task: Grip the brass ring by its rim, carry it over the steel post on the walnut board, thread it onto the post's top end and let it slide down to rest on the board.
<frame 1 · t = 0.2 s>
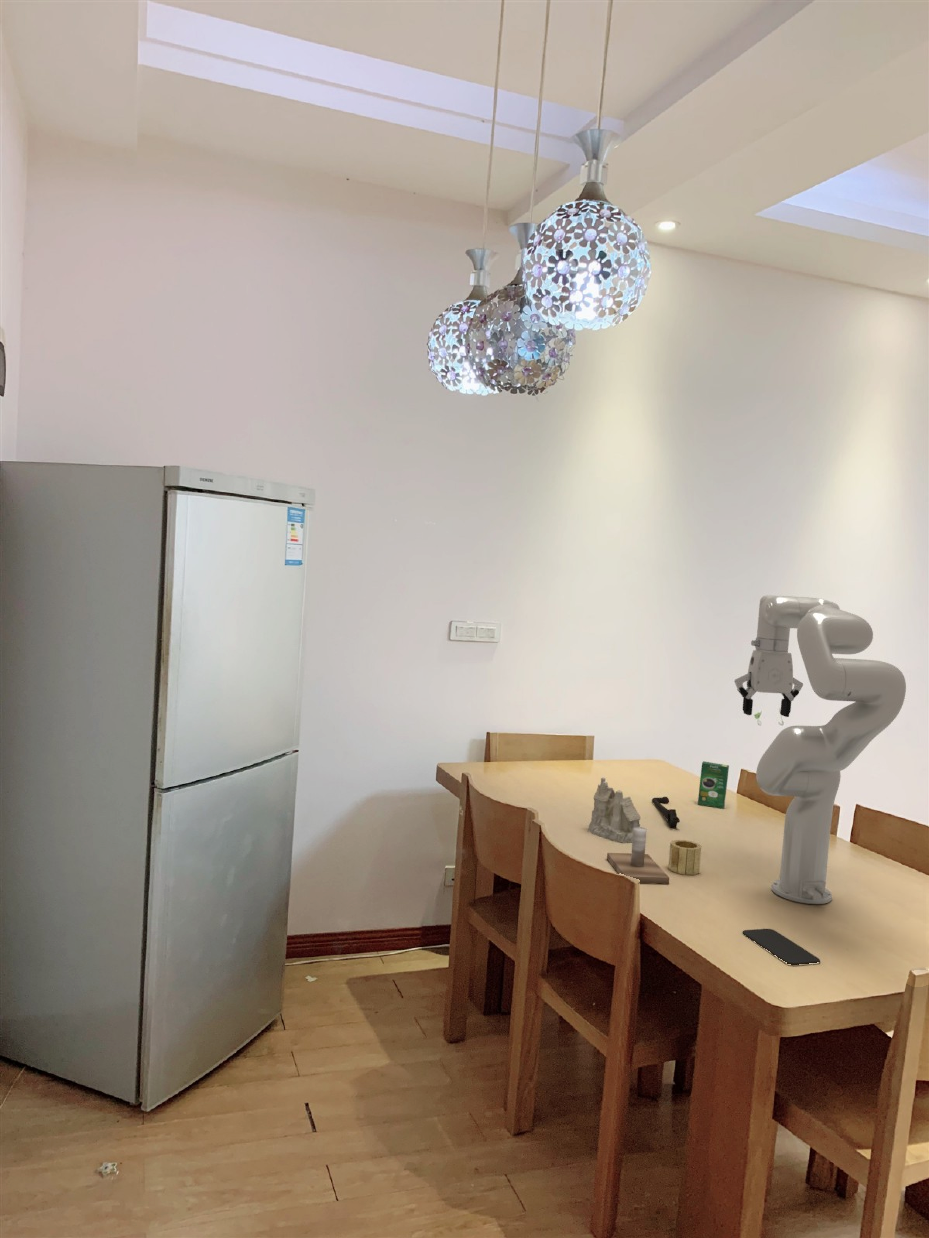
hand: (766, 715, 221), 36 cm above the table, tool pointing down, fingers open, 9 cm apart
ceramic cottage: (619, 833, 238), on the table
wrench: (669, 817, 258), on the table
ring: (683, 869, 211), on the table
coffee box: (711, 806, 272), on the table
post board: (636, 870, 208), on the table
phone: (779, 950, 170), on the table
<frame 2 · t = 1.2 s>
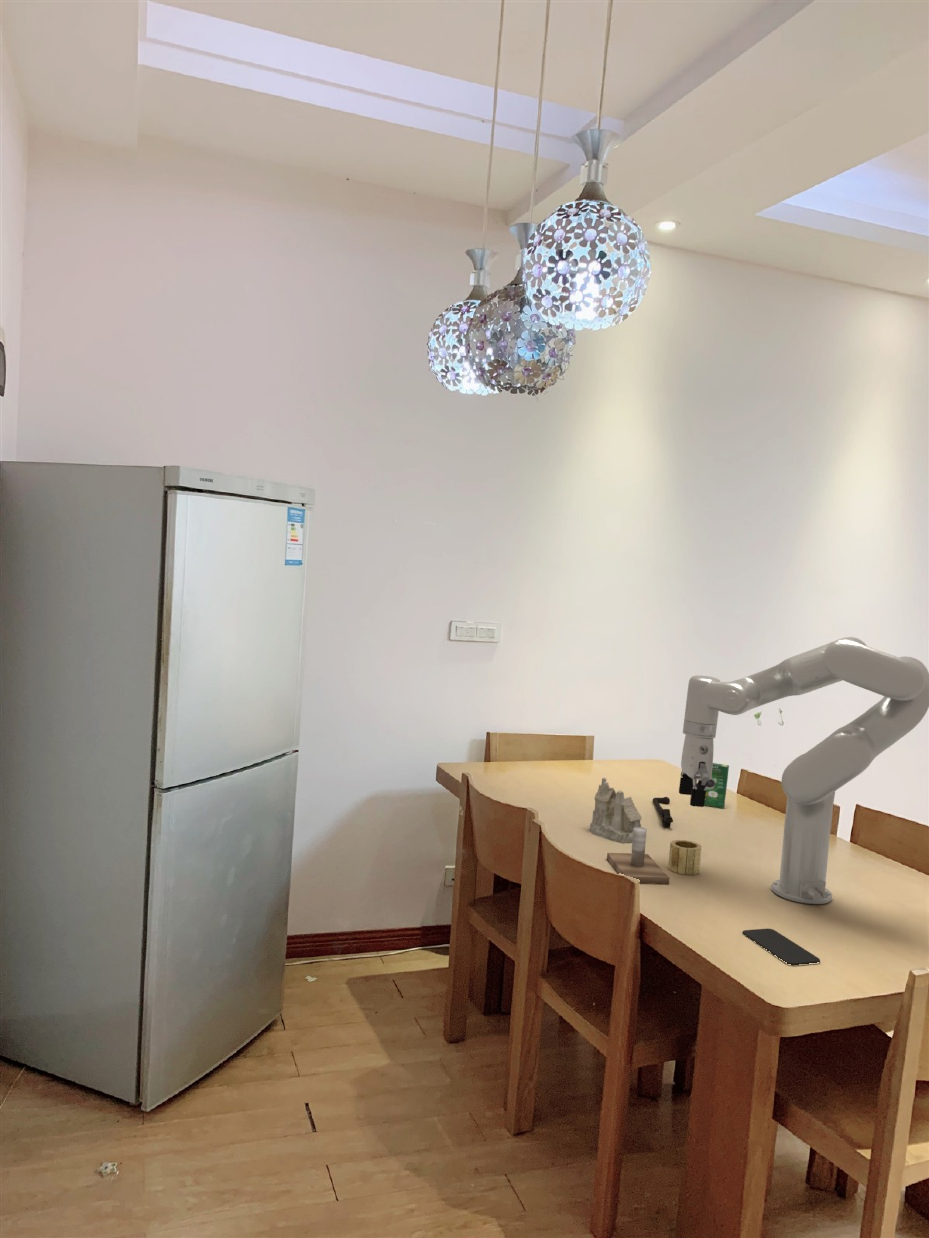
hand: (691, 799, 211), 16 cm above the table, tool pointing down, fingers open, 9 cm apart
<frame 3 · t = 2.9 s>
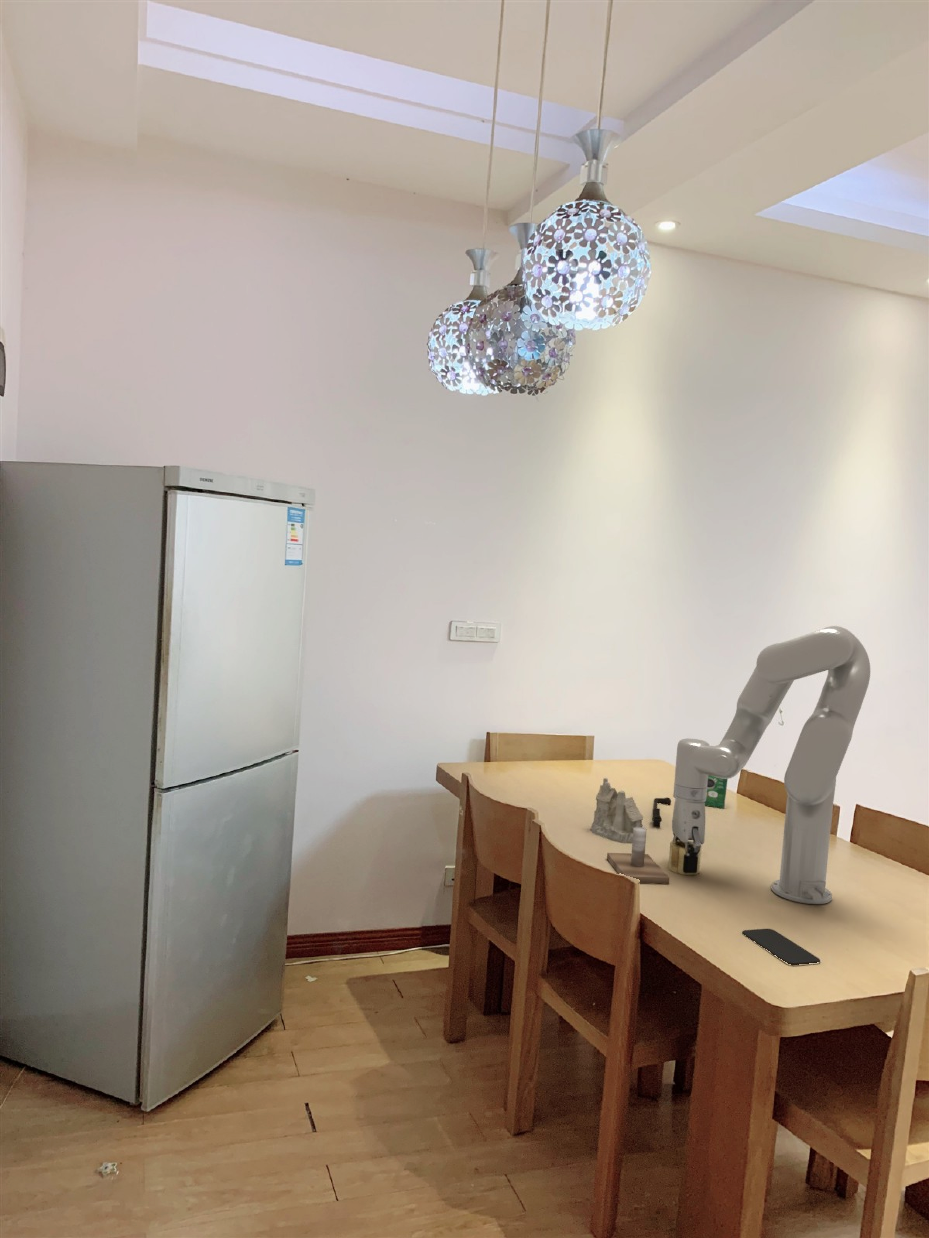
hand: (683, 865, 211), 1 cm above the table, tool pointing down, fingers closed on ring, 7 cm apart
wrench: (661, 817, 257), on the table
ring: (683, 869, 211), on the table, touching gripper
everything else where it was.
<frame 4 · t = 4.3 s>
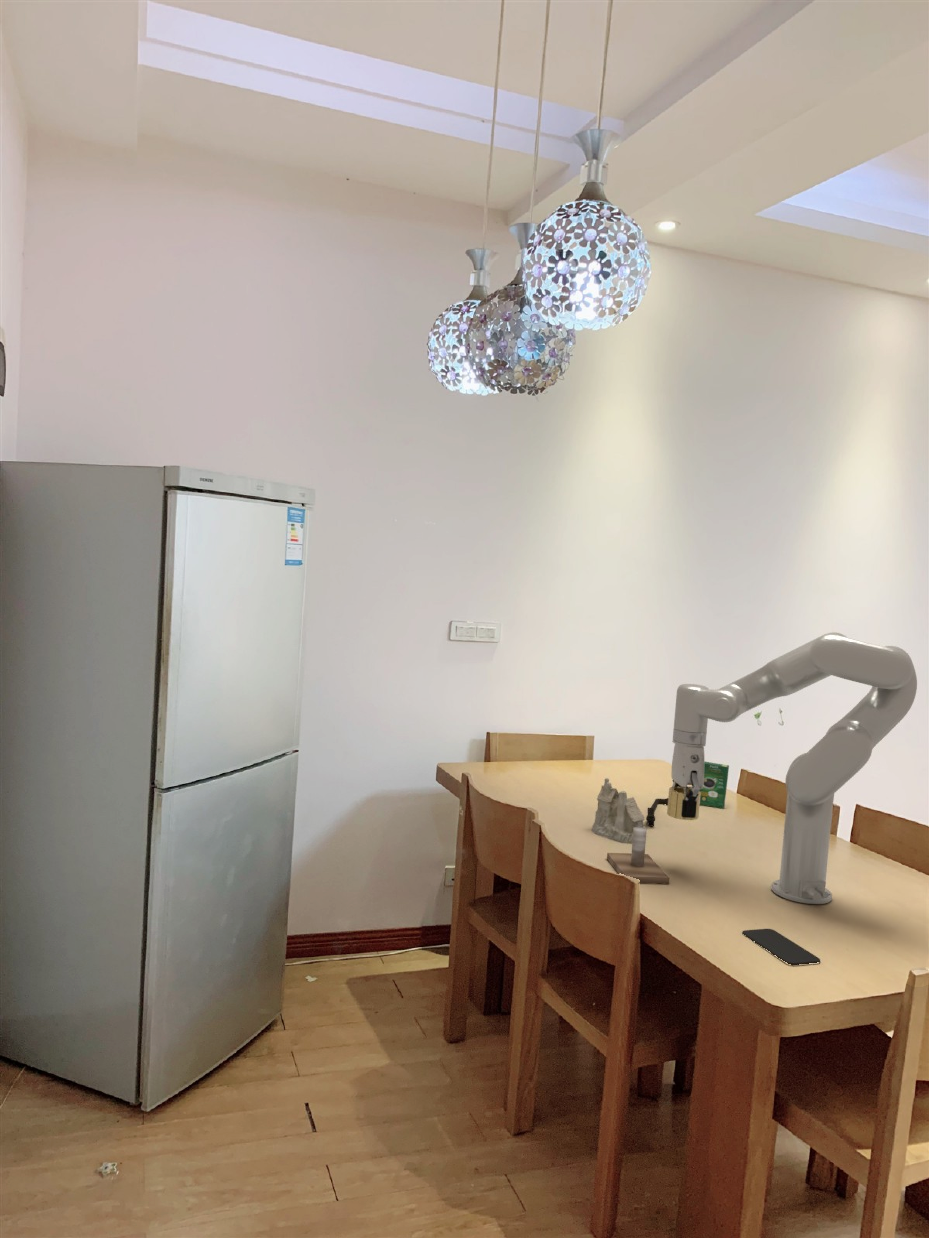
hand: (682, 811, 210), 14 cm above the table, tool pointing down, fingers closed on ring, 7 cm apart
ring: (682, 815, 210), point 13 cm above the table, touching gripper
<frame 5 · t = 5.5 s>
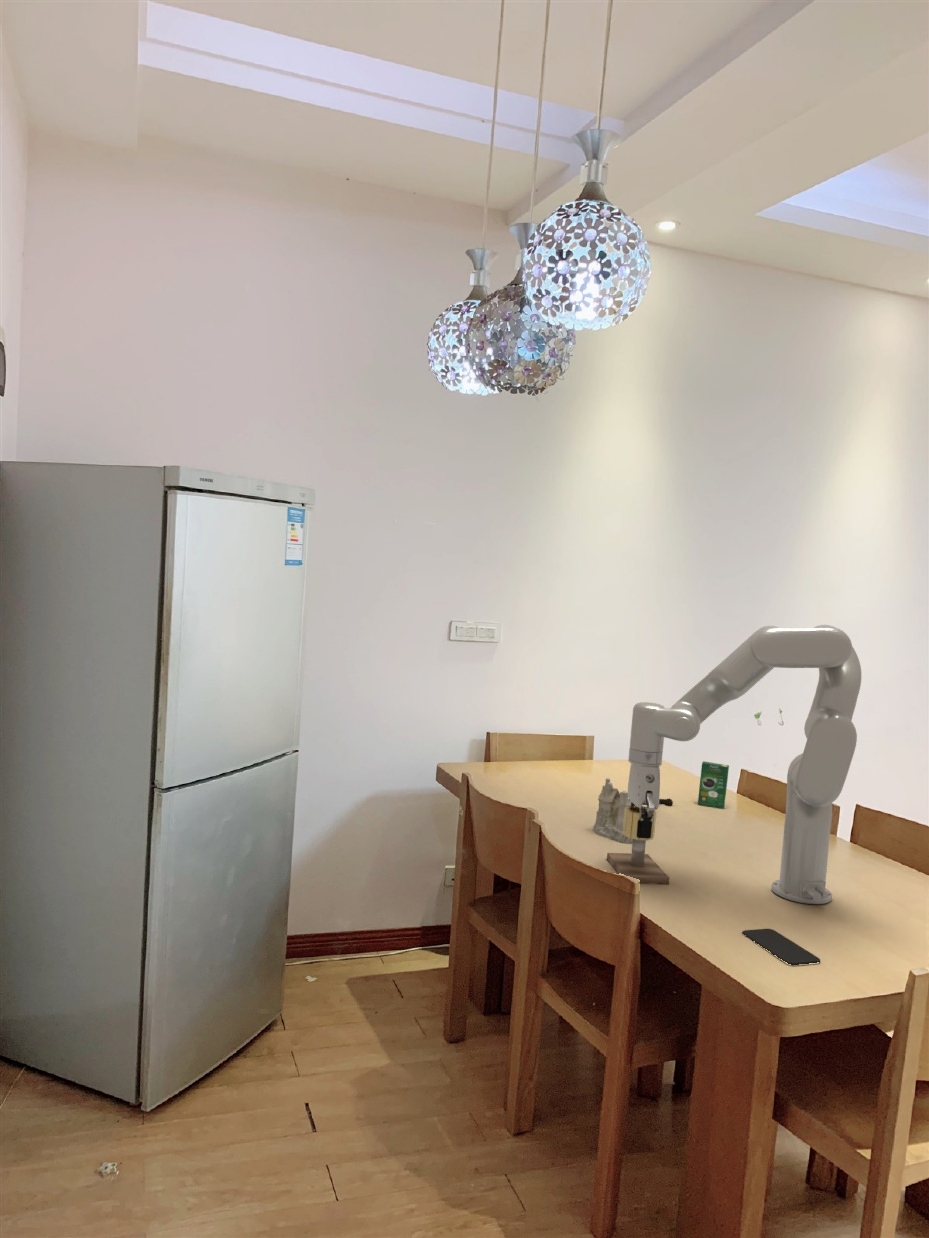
hand: (638, 831, 207), 9 cm above the table, tool pointing down, fingers closed on ring, 7 cm apart
ring: (638, 835, 207), point 8 cm above the table, touching gripper
when the fingers open (8 cm above the table, at t = 6.2 s): ring drops 5 cm, resting on post board.
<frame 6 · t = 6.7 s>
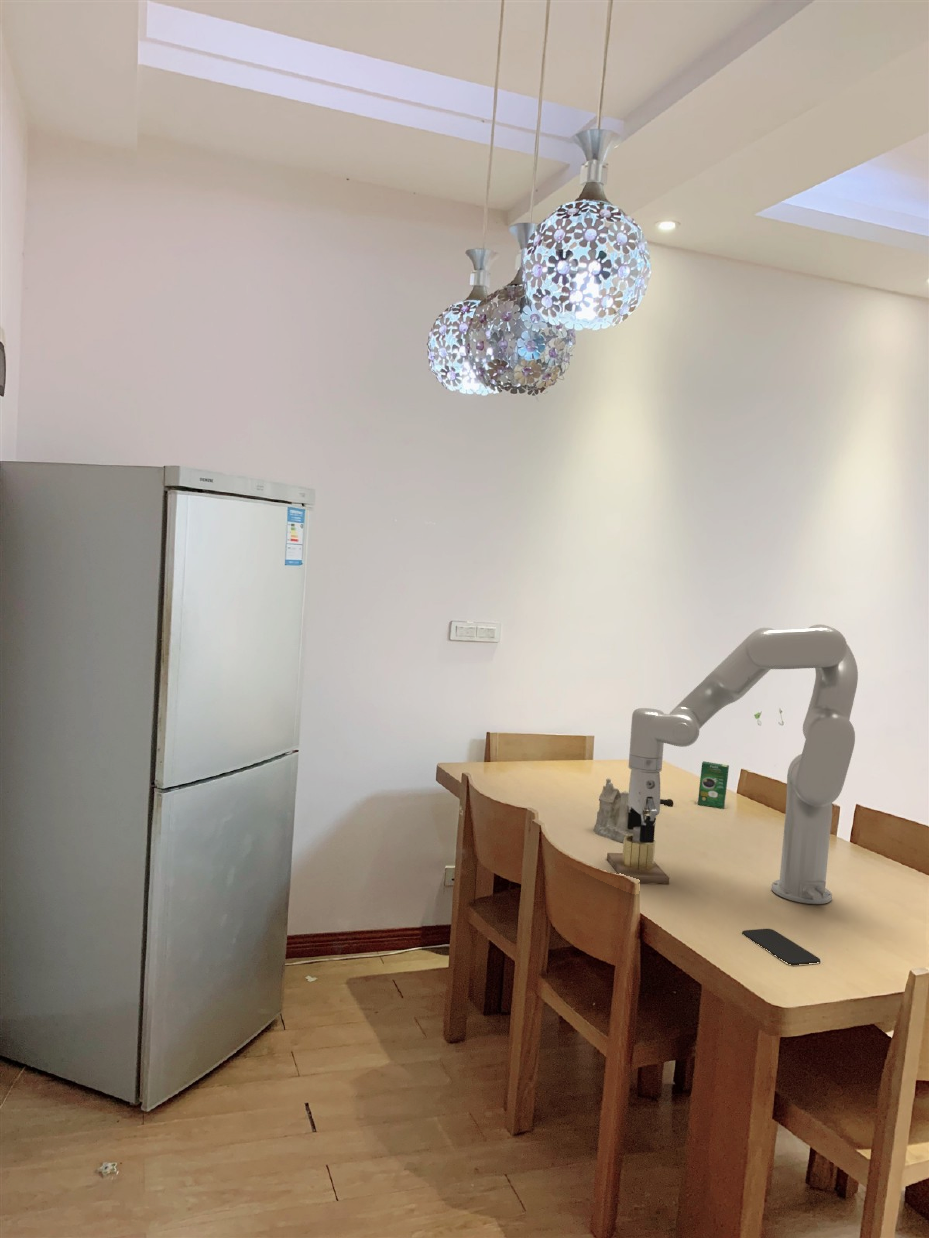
hand: (640, 835, 207), 8 cm above the table, tool pointing down, fingers open, 9 cm apart
ring: (637, 864, 208), point 1 cm above the table, touching post board
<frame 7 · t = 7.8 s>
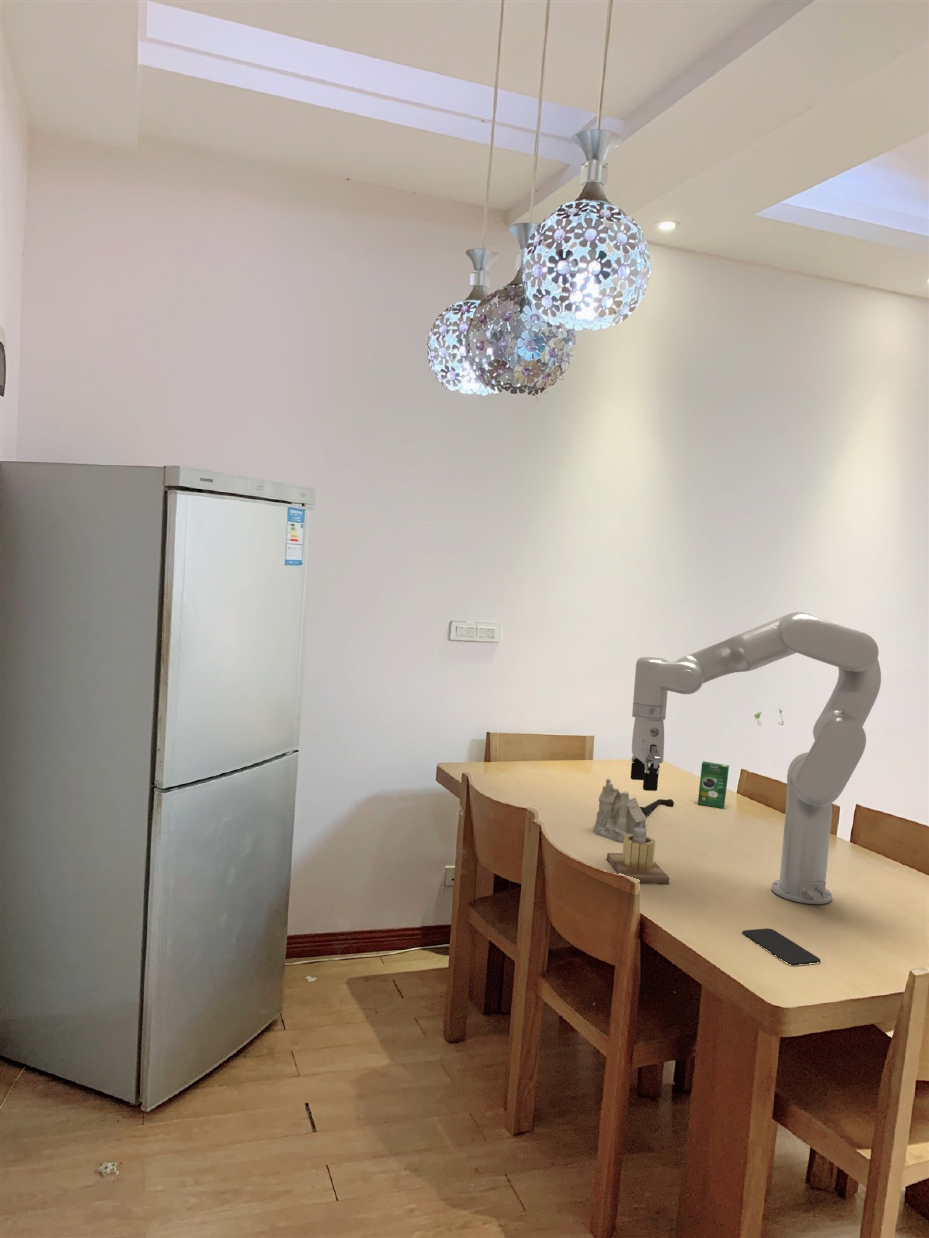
hand: (643, 784, 207), 20 cm above the table, tool pointing down, fingers open, 9 cm apart
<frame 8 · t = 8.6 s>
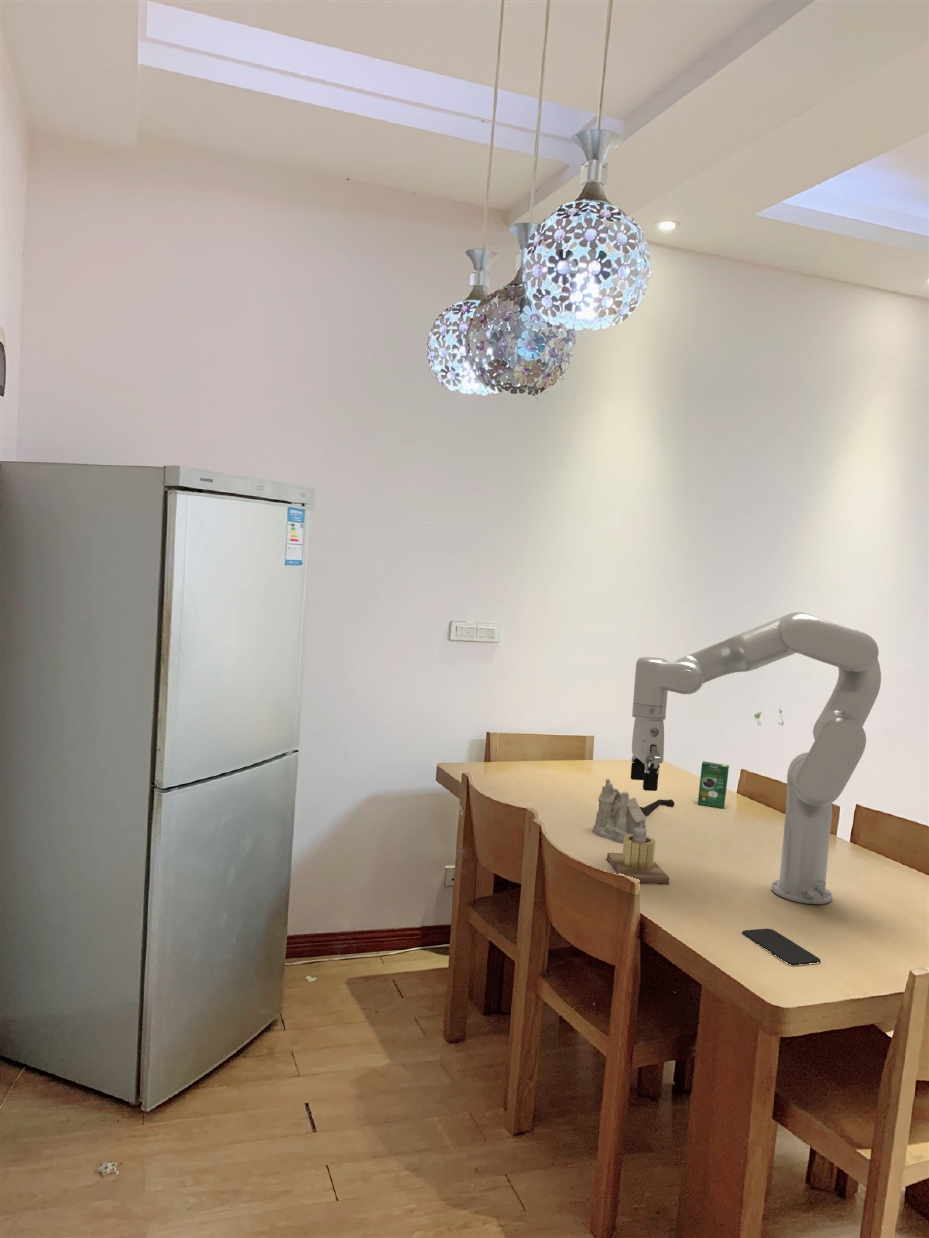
hand: (643, 784, 207), 20 cm above the table, tool pointing down, fingers open, 9 cm apart
at the end: ring 0.1 cm from the post board (horizontally); ring point 1.5 cm above the table; the gripper is holding nothing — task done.
